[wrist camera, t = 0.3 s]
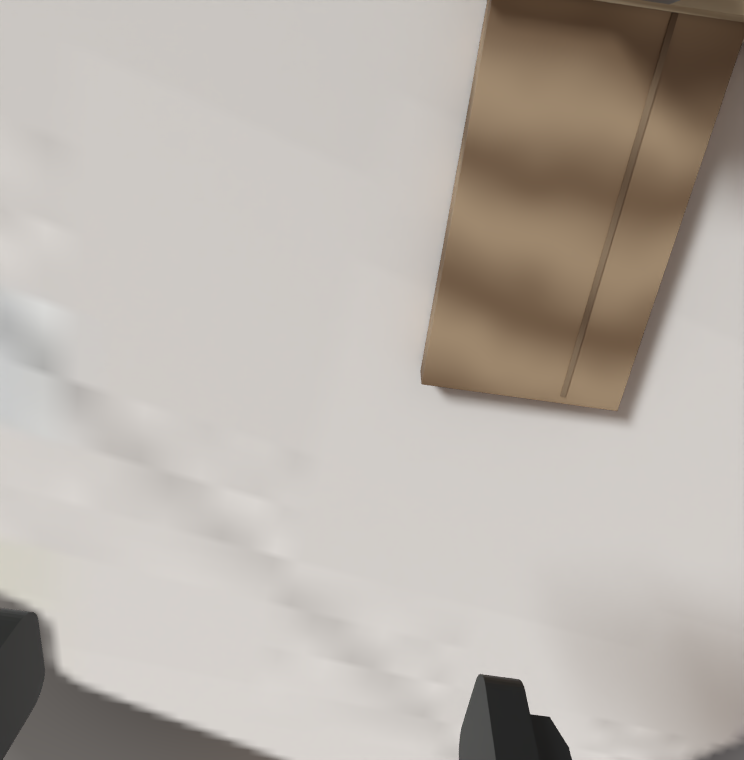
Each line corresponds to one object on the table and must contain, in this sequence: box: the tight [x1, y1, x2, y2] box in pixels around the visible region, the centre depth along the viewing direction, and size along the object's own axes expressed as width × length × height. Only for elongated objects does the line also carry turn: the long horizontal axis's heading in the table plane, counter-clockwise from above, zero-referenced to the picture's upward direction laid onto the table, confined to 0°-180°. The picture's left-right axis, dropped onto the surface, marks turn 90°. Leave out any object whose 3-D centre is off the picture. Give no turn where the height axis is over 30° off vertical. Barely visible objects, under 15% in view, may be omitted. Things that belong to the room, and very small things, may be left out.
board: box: [421, 0, 744, 411], centre depth 32 cm, size 26×12×2 cm, turn 172°
